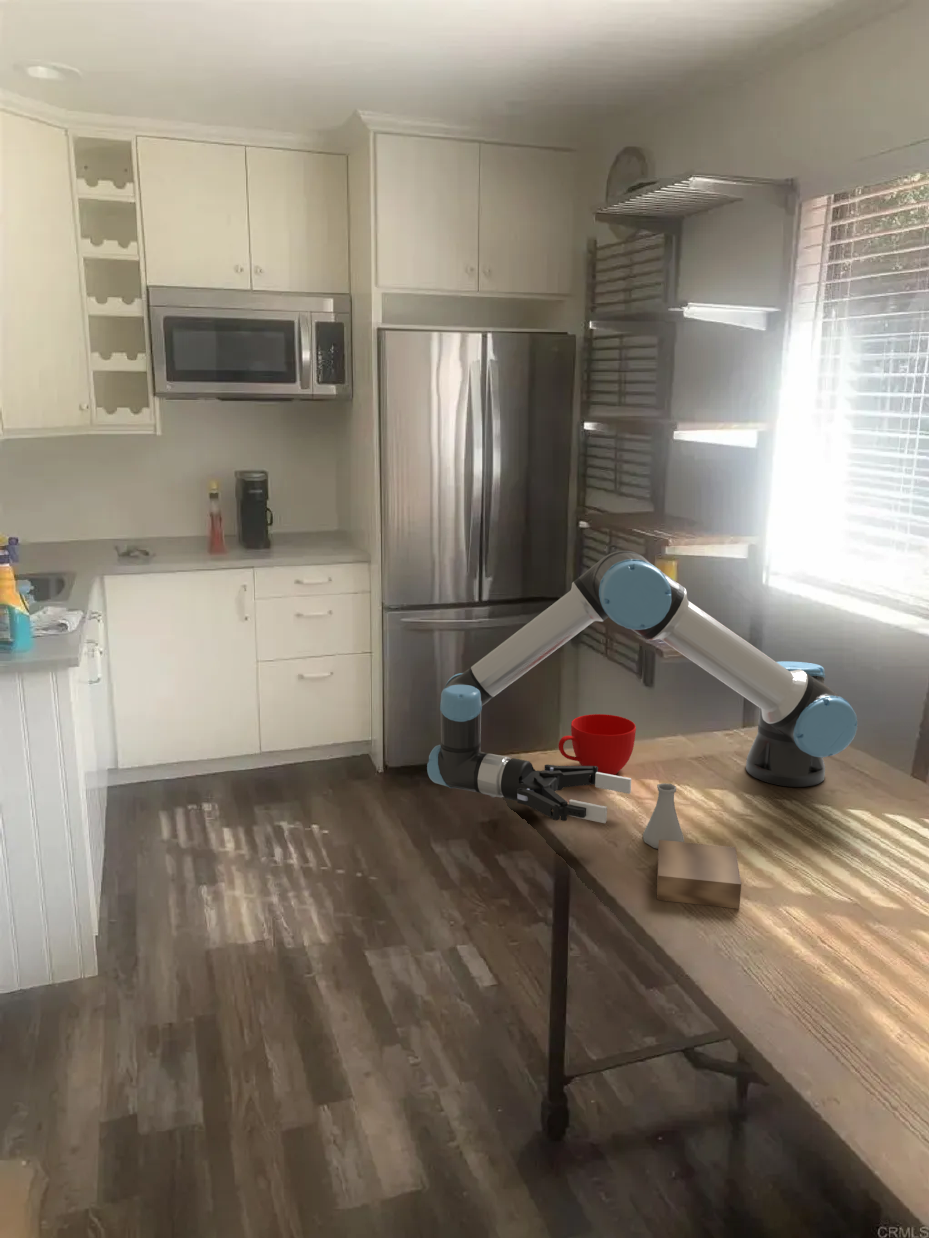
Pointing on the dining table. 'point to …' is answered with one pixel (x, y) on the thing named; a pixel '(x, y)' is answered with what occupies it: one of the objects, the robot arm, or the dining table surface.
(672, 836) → the flask
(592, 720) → the ceramic cup
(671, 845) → the plinth
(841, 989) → the dining table surface
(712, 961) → the dining table surface
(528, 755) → the dining table surface
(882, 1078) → the dining table surface
